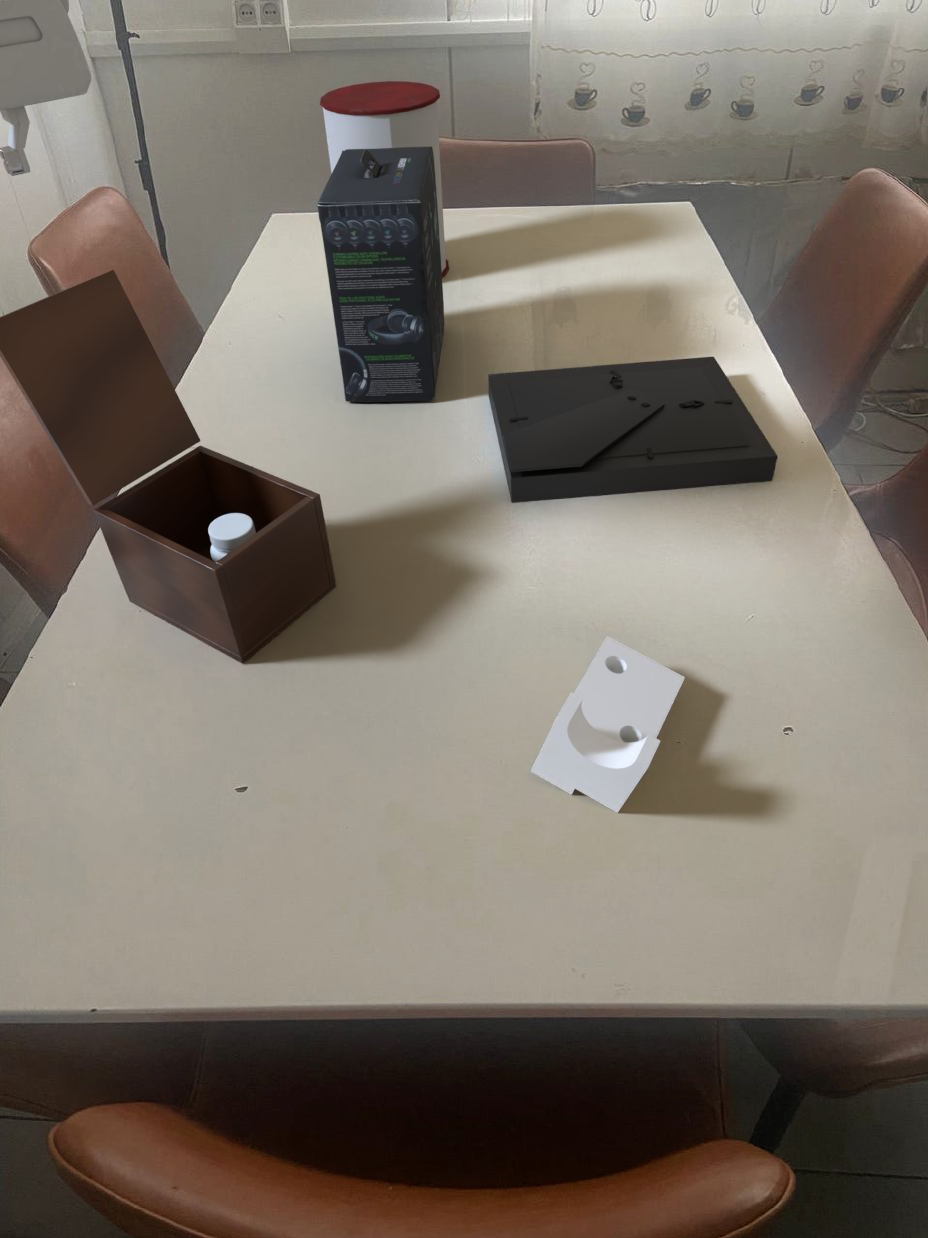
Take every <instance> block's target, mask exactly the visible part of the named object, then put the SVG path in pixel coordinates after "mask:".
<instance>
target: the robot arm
mask: <svg viewBox="0 0 928 1238" xmlns="http://www.w3.org/2000/svg"><path fill="white" fill-rule="evenodd" d="M69 10H70V2H69V0H0V115H1V118H2V120H4V121H6V122H7V123H9V124H10V125H9V132H8V140H7V145H5V146H3V147H0V158H1V159H2V160H3V163H2V164H3V166H4V169H5V171H6V173H7V174H8V175H10V176H11V177H14V176H19V175H24V174H27V173H28V174H29V173H31V167H30V164H29V160H28V159H27V155H26V152H25V148H26V144H27V139H28V134H29V129H30V123H31V122H30V118H29V116H28V115H29V114H28V113H27V110H26V107H27V106H32V105H36V104H42V103H47V102H52V101H58V100H63V99H69V98H73V97H79V96H83V95H85V94H87V93H88V91H89V88H90V85H91V81H92V74H91V71H90V67H89V64H88V61H87V58H86V56H85V53H84V49H83V47H82V45H81V41H80V39H79V37H78V35H77V31H76V30H75V27H74V25H73V23H72V21H71V18H70V16H69Z"/></svg>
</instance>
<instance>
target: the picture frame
mask: <svg viewBox="0 0 928 1238" xmlns="http://www.w3.org/2000/svg"><path fill="white" fill-rule="evenodd" d="M487 377H488V378H487V384H488V385H487V386H488V399H489V404H490V409H491V413H492V418H493V423H494V426H495V431H496V436H497V442H498V445H499V446H498V447H499V451H500V455H501V460H502V464H503V470H504V473H505V478H506V479H505V480H506V484H507V487H508V493H509V497H510V502H511V503H525V502H535V501H546V500H557V499H559V500H560V499H571V498H582V497H593V496H606V495H617V494H619V495H620V494H627V493H628V494H630V493H641V492H651V491H652V492H653V491H665V490H675V489H689V488H690V489H691V488H700V487H711V486H723V485H735V484H745V483H746V484H747V483H758V482H760V483H761V482H771V481H773V479H774V475H775V470H776V466H777V462H778V457H779V456H778V454H777V453H776V451H775V450H774V449H773V447H772V444H771V443H770V442H769V440H768V439H767V437H766V436H765V434H764V432H763V431H762V429H761V428H760V426H759V425H758V423H757V421H756V420H755V419H754V417H753V415H752V414H751V412H750V411H749V409H748V407H747V406H746V405H745V402H744V401H743V400H742V399H741V397H740V395H739V394H738V392H737V390H736V389H735V387H734V386H733V384H732V382H731V381H730V380H729V378H728V376H727V374H726V373H725V371H724V370H723V369H722V367H721V365H720V364H719V363H718V361H717V359H716V358H715V356H701V357H690V358H677V359H676V358H675V359H665V360H664V359H663V360H651V361H650V360H649V361H639V362H626V363H615V364H612V363H611V364H601V365H588V366H587V365H586V366H576V367H564V368H550V369H538V370H526V371H525V370H524V371H513V372H512V371H511V372H501V373H489V374H488V373H487Z"/></svg>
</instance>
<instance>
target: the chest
mask: <svg viewBox="0 0 928 1238" xmlns="http://www.w3.org/2000/svg"><path fill="white" fill-rule="evenodd" d="M93 513H94V515H95V519H96V521H97V523H98V526H99V528H100V531H101V534H102V536H103V538H104V541H105V544H106V546H107V548H108V550H109V553H110V556H111V559H112V561H113V563H114V566H115V568H116V569H115V570H116V571H117V574H118V576H119V578H120V580H121V583H122V584H121V585H122V586H123V590H124V592H125V594H126V596H127V598H128V600H129V602H130V603H132V604H134V605H135V606H137V607H139V608H141V609H142V610H144V611H147V612H148V613H150V614H152V615H154V616H155V617H157V618H159V619H161V620H162V621H164V622H166V623H168V624H170V625H171V626H174V627H175V628H177V629H179V630H181V631H182V632H184V633H186V634H188V635H190V636H192V637H193V638H195V639H197V640H199V641H201V642H202V643H204V644H206V645H208V646H210V647H211V648H213V649H215V650H217V651H219V652H221V653H222V654H223V655H226V656H228V657H229V658H231V659H232V660H235V661H236V662H239V663H241V664H245V663H246V662H248V661H249V660H250V659H251V658H252V657H253V656H255V655H256V654H257V653H258V652H259V651H261V650H262V649H263V648H264V647H266V645H268V644H269V643H270V642H271V641H272V640H274V639H275V638H277V637H278V636H279V635H280V634H281V633H282V632H284V631H285V630H286V629H288V628H289V626H291V625H292V624H293V623H295V622H296V621H297V620H298V619H299V618H300V617H302V616H303V615H304V614H305V613H306V612H308V611H309V610H310V609H312V607H313V606H315V605H316V604H317V603H318V602H319V601H321V600H322V599H324V597H325V596H327V595H328V594H329V593H331V592H332V591H333V590H334V589H335V588H336V587H337V581H336V575H335V570H334V564H333V559H332V553H331V547H330V543H329V536H328V531H327V526H326V520H325V514H324V510H323V504H322V497H321V494H320V493H317V492H315V491H313V490H310V489H308V488H306V487H303V486H301V485H298V484H296V483H294V482H290V481H288V480H286V479H283V478H281V477H279V476H276V475H274V474H272V473H269V472H266V471H264V470H262V469H259V468H257V467H254V466H252V465H249V464H247V463H244V462H242V461H239V460H238V459H235V458H232V457H230V456H228V455H225V454H223V453H220V452H217V451H215V450H212V449H210V448H207V447H205V446H203V445H198V446H197V447H195V448H193V449H192V450H190V451H189V452H187V453H185V454H184V455H182V456H180V457H179V458H177V459H176V460H173V461H172V462H170V463H169V464H167V465H166V466H163V467H162V468H161V469H159V470H157V471H156V472H154V473H152V474H150V475H149V476H147V477H146V478H144V479H142V480H141V481H140V482H137V483H136V484H134V485H133V486H130V487H129V488H128V489H126V490H125V491H122V492H121V493H120V494H118V495H116V496H115V497H113V498H111V499H110V500H108V501H106V502H105V503H103V504H102V505H99V506H98V507H97V508H95V509H93ZM231 513H241V514H245V515H247V516H249V517H250V518H251V519H252V521H253V523H254V527H255V530H256V534H254V535H253V536H252V537H250V538H249V539H247V540H246V541H245V542H243V543H242V544H240V545H239V546H238V547H236V548H235V549H234V550H232V551H231V552H229V553H228V554H227V555H225V556H224V557H222V558H221V559H220V560H218V561H217V562H214V561H213V560H212V558H211V553H210V549H211V546H212V543H211V540H210V536H209V533H208V528H209V526H210V524H211V523H212V522H213V521H214V520H215V519H217V518H218V517H220V516H223V515H226V514H231Z"/></svg>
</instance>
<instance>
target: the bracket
mask: <svg viewBox="0 0 928 1238" xmlns="http://www.w3.org/2000/svg"><path fill="white" fill-rule="evenodd" d="M604 638H605V639H604V641H603V642H602V644H601V645H600V647H599V649H598V650H597V652H596V654H595V655H594V657H593V659H592V661H590V664H589V666H588V667H587V669H586V670H585V672H584V674H583V676H582V677H581V680H580V681H579V683H578V685H577V686H576V689H575V690H574V691H571V692H570V693H569V695H568V697H567V698H566V701H565V702H564V704H563V705H562V707H561V708H560V710H559V712H558V714H557V715H556V717H555V719H554V722H553V724H552V726H551V727H550V730H549V732H548V734H547V736H546V738H545V740H544V742H543V743H542V746H541V749H540V751H539V752H538V754H537V756H536V759H535V761H534V763H533V765H532V767H531V769H530V772H531V773H532V774H534V775H536V776H537V777H539V778H541V779H543V780H545V781H546V782H548V783H550V784H551V785H553V786H555V787H557V788H558V789H560V790H562V791H564V792H566V793H568V794H569V795H571V796H572V795H573V793H574V791H575V790H577V791H578V792H580V793H581V794H584V795H585V796H587V797H588V798H591V799H592V800H594V801H596V802H597V803H599V804H601V805H602V806H605V807H606V808H608V809H610V810H612V812H615V813H616V814H618V813H619V812H620V810H621V809H622V807H623V806H624V804H625V803H626V801H627V800H628V798H629V797H630V795H631V794H632V792H633V791H634V790H635V788H636V787H637V785H638V783H639V782H640V781H641V779H642V778H643V776H644V774H645V773H646V772H647V770H648V769H649V767H650V765H651V763H652V760H653V758H654V756H655V754H656V751H657V750H658V748H659V745H660V743H661V740H660V739H658V738H657V737H658V736H659V733H660V732H661V729H662V727H663V725H664V723H665V721H666V719H667V717H668V714H669V712H670V710H671V708H672V706H673V705H674V702H675V700H676V698H677V695H678V693H679V691H680V689H681V686H682V685H683V683H684V680H685V678H686V677H685V676H683V675H682V674H680V673H678V672H676V671H675V670H672V669H670V668H668V667H667V666H665V665H663V664H661V663H659V662H657V661H655V660H653V659H652V658H650V657H648V656H646V655H644V654H642V653H640V652H638V651H636V650H635V649H633V648H631V647H629V646H627V645H625V644H623V643H621V642H619V641H617V640H616V639H614V638H612V637H610V636H608V635H606V637H604Z"/></svg>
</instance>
